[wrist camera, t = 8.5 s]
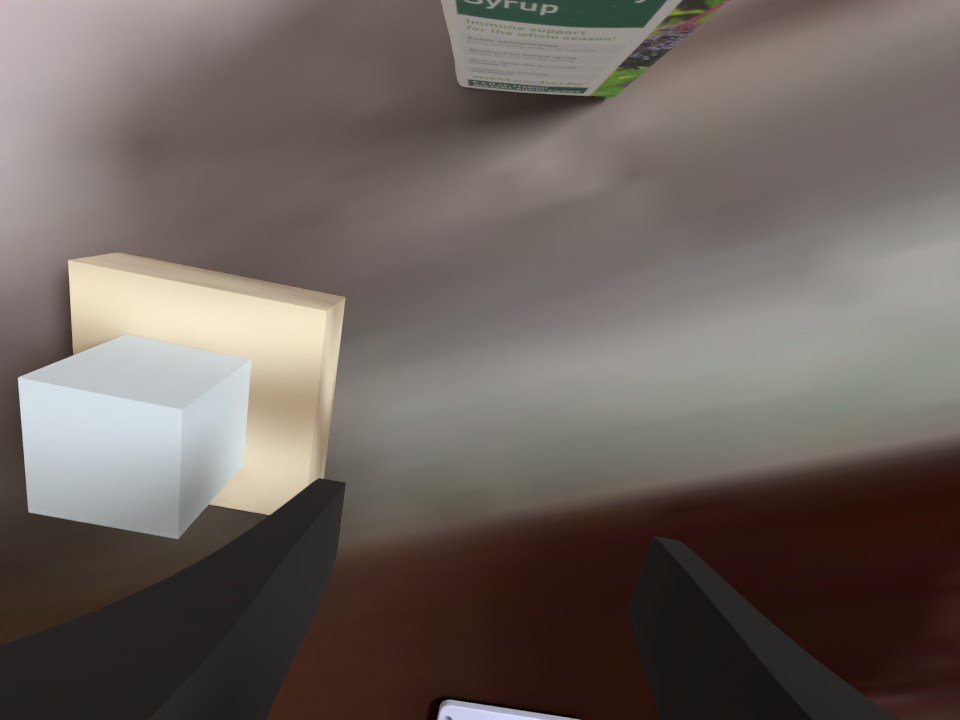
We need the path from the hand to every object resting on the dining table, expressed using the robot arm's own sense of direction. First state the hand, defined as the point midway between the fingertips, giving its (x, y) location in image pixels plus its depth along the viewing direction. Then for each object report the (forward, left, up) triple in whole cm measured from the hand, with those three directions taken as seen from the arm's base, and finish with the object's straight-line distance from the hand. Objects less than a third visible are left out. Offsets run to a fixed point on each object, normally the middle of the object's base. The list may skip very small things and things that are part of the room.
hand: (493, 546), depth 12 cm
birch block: (-2, +11, -11) cm, 16 cm away
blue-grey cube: (-2, +11, -8) cm, 14 cm away
